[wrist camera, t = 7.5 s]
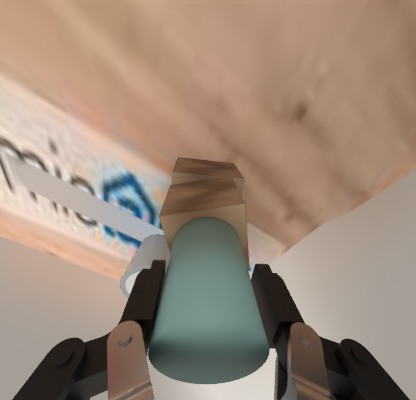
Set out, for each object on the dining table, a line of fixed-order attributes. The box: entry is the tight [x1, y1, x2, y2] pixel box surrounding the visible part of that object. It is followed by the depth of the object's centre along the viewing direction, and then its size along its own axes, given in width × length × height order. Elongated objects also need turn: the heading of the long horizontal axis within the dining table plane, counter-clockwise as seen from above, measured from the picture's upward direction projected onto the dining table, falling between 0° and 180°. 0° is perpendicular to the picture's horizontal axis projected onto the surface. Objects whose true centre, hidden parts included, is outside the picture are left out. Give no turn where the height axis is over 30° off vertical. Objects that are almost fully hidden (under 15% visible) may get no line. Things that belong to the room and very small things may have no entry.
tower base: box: [172, 157, 244, 194], centre depth 22 cm, size 7×7×6 cm
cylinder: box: [148, 217, 269, 384], centre depth 11 cm, size 5×5×7 cm
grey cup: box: [120, 234, 170, 298], centre depth 26 cm, size 7×7×7 cm
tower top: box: [159, 176, 249, 268], centre depth 17 cm, size 6×6×6 cm
